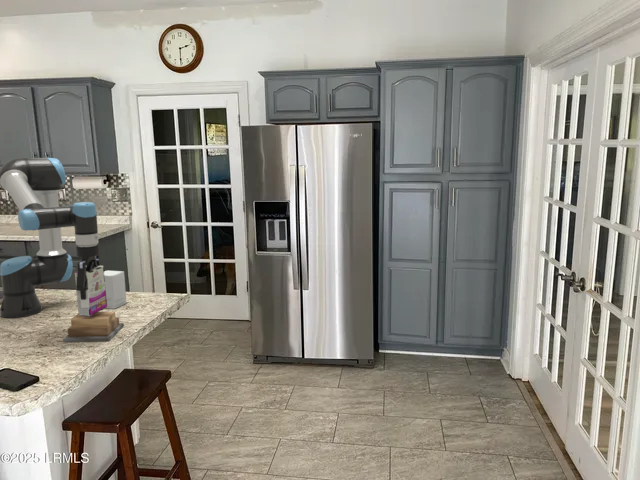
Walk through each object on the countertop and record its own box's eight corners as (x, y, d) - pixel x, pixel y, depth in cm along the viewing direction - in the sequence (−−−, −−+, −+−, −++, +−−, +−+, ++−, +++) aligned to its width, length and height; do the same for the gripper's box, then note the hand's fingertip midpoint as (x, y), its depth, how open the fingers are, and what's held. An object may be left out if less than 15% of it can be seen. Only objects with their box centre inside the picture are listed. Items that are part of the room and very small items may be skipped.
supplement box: (127, 303, 223) (125, 271, 221) (114, 309, 215) (112, 275, 212) (109, 301, 225) (107, 269, 223) (96, 307, 217) (93, 274, 214)
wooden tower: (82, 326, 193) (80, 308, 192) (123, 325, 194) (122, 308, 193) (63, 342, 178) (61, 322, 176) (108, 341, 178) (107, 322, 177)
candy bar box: (95, 306, 190) (92, 265, 187) (107, 307, 190) (104, 265, 187) (77, 316, 179) (73, 272, 176) (90, 316, 179) (86, 272, 176)
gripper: (84, 251, 168) (89, 312, 172) (110, 239, 192) (114, 293, 196) (61, 251, 168) (67, 313, 172) (90, 239, 192) (94, 293, 195)
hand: (92, 302), depth 184 cm, fingers closed on candy bar box, 12 cm apart
